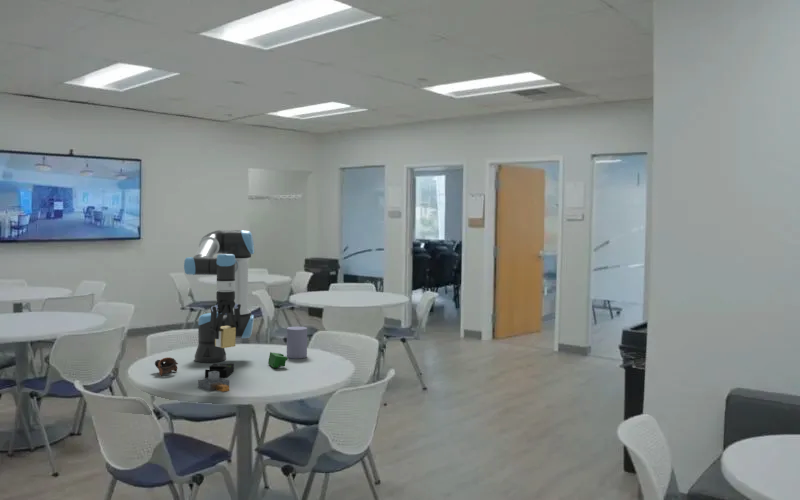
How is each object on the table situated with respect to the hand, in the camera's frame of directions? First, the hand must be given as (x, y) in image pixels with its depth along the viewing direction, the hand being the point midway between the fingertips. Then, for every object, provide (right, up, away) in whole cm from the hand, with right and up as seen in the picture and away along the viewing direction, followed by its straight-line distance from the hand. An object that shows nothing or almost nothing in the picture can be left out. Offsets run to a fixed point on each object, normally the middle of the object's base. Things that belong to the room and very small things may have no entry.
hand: (225, 345), depth 268 cm
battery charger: (-8, -17, +20) cm, 27 cm away
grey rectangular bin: (-3, -17, -4) cm, 18 cm away
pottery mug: (-33, -17, +21) cm, 42 cm away
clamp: (+13, -17, +40) cm, 45 cm away
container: (+20, -15, +61) cm, 66 cm away
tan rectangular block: (0, 0, 0) cm, 0 cm away
